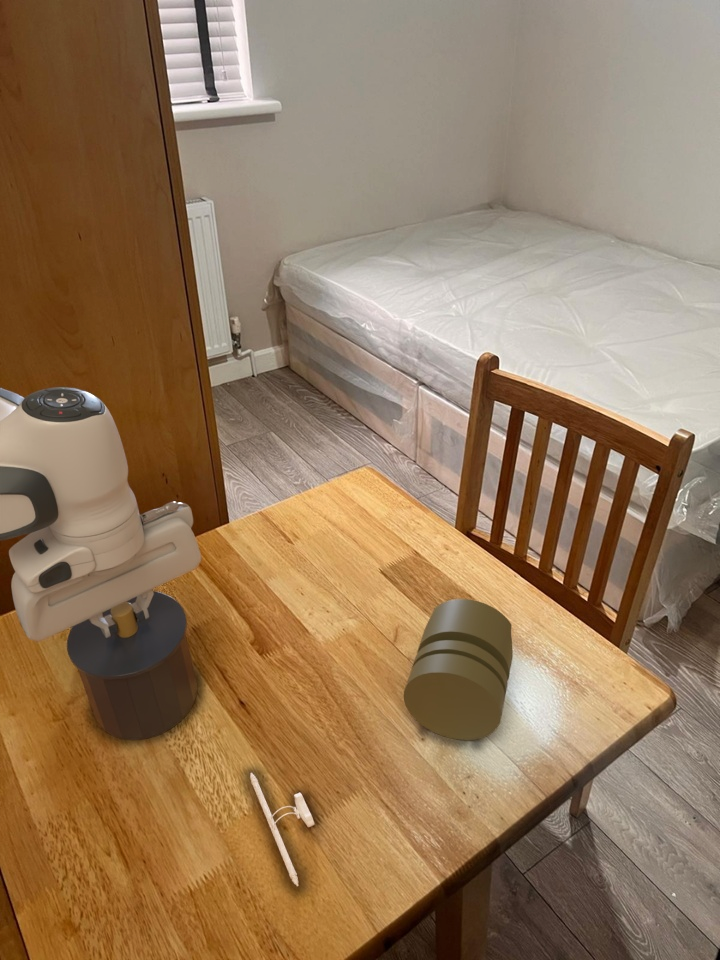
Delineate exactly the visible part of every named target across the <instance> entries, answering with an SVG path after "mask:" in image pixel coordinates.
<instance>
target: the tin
mask: <svg viewBox="0 0 720 960" xmlns="http://www.w3.org/2000/svg"><path fill="white" fill-rule="evenodd" d="M77 671H78V674H79V677H80V679H81V682H82V685H83V688H84V691H85V693H86V696H87V699H88V702H89V705H90V707H91V710H92V713H93V716H94V718H95V720H96V721H97V723H98V725H99V726H100V728H101V729H103V731H104V732H106V733H107V734H109V735H110V736H113V737H114V738H118V739H121V740H127V741H138V740H146V739H151V738H154V737H157V736H160V735H162V734H164V733H166V732H168V731H169V730H172V729H173V728H174V727H176V726H177V725H178V724H180V723H181V722H182V721H183V720H184V719H185V718H186V716H187V715H188V714H189V713H190V711H191V710H192V708H193V706H194V704H195V702H196V699H197V693H198V682H197V678H196V674H195V669H194V664H193V660H192V655H191V651H190V646H189V642H188V638H187V633H186V634H185V637H184V639H183V641H182V643H181V645H180V646H179V648H178V649H177V650H176V651H175V653H174V654H173V655H172V656H171V657H170V658H168V659H167V660H166V661H165V662H163V663H162V664H161V665H159V666H157V667H156V668H154V669H152V670H150V671H148V672H146V673H143V674H140V675H137V676H133V677H130V678H124V679H114V680H111V679H100V678H95V677H92V676H89V675H87V674H84V673H83V672H81V671H80V670H79V669H77Z"/></svg>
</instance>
